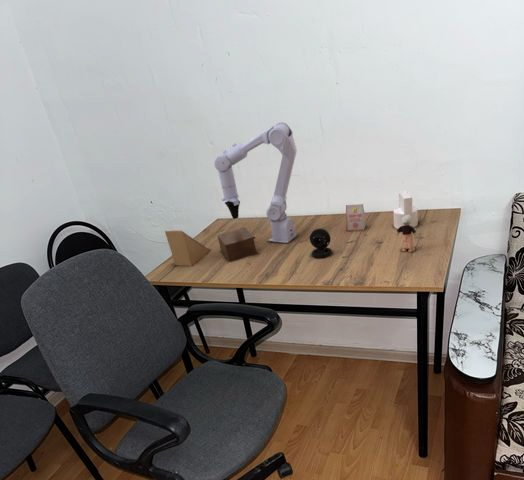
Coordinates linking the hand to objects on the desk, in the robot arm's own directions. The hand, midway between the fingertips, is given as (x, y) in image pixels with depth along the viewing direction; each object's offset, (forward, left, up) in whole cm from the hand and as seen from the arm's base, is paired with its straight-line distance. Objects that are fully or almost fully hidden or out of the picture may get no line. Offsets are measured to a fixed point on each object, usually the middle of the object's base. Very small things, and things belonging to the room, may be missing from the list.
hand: (235, 218), depth 198 cm
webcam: (-42, +4, -11) cm, 44 cm away
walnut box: (-6, +10, -10) cm, 16 cm away
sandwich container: (+11, +19, -11) cm, 24 cm away
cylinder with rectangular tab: (-62, -28, -11) cm, 69 cm away
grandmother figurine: (-71, -6, -11) cm, 72 cm away
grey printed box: (-44, -21, -11) cm, 50 cm away
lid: (-6, +10, -4) cm, 12 cm away
